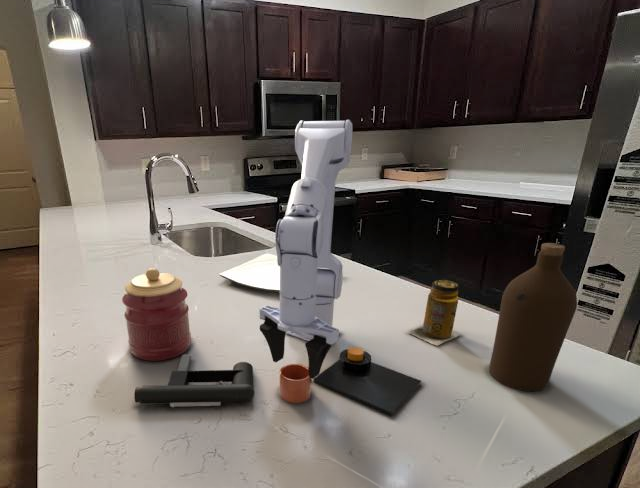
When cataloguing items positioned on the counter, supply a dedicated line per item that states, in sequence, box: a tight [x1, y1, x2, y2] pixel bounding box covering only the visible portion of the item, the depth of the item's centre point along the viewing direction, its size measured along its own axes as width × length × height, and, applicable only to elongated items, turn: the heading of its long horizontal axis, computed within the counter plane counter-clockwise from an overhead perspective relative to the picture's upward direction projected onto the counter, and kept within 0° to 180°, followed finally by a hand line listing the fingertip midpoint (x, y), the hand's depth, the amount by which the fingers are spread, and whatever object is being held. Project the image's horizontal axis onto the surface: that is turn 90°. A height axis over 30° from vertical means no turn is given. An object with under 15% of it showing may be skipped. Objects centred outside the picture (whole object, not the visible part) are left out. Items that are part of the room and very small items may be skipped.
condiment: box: [408, 279, 460, 347], centre depth 91 cm, size 7×8×12 cm
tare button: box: [347, 346, 365, 361], centre depth 80 cm, size 3×3×2 cm
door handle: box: [133, 353, 255, 408], centre depth 76 cm, size 3×20×16 cm
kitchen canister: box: [121, 267, 192, 362], centre depth 86 cm, size 13×13×18 cm
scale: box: [313, 348, 422, 417], centre depth 75 cm, size 15×12×2 cm
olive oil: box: [488, 242, 578, 392], centre depth 72 cm, size 11×11×25 cm
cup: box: [278, 363, 312, 404], centre depth 72 cm, size 5×5×4 cm
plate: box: [219, 253, 325, 293], centre depth 128 cm, size 29×29×3 cm
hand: (295, 367), depth 71 cm, fingers open, 7 cm apart
